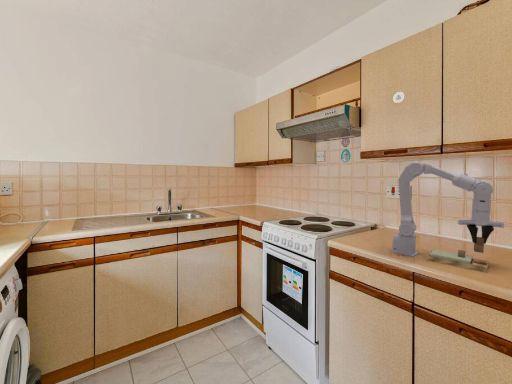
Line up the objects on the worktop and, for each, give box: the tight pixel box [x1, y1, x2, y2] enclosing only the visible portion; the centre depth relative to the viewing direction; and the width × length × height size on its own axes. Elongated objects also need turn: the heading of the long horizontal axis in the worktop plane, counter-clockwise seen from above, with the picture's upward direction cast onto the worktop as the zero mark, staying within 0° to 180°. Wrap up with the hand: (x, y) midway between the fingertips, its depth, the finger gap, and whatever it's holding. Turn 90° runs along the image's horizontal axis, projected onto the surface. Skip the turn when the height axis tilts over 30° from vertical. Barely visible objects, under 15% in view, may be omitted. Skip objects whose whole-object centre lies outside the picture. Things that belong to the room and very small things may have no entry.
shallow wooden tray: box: [425, 250, 490, 273], centre depth 106 cm, size 20×10×2 cm, turn 44°
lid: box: [429, 248, 474, 264], centre depth 107 cm, size 13×9×4 cm
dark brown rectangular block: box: [473, 236, 485, 254], centre depth 105 cm, size 2×2×6 cm
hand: (478, 242), depth 105 cm, fingers closed on dark brown rectangular block, 2 cm apart
